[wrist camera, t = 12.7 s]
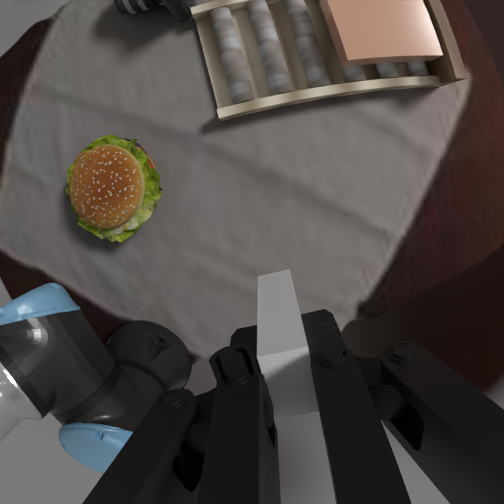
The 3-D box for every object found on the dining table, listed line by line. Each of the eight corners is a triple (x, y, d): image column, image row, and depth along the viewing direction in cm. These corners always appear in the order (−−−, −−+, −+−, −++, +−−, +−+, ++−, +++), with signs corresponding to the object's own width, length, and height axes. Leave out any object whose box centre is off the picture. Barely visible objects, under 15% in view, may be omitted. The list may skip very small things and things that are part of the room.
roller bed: (221, 121, 40) (214, 113, 33) (194, 16, 36) (183, -7, 29) (440, 86, 38) (467, 78, 30) (406, -9, 33) (426, -28, 26)
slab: (341, 67, 35) (348, 60, 32) (318, 2, 32) (323, -9, 29) (431, 61, 34) (443, 55, 30) (409, 0, 31) (419, -9, 28)
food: (105, 247, 46) (80, 263, 38) (71, 163, 42) (40, 167, 35) (183, 212, 44) (168, 223, 37) (146, 120, 41) (123, 114, 33)
